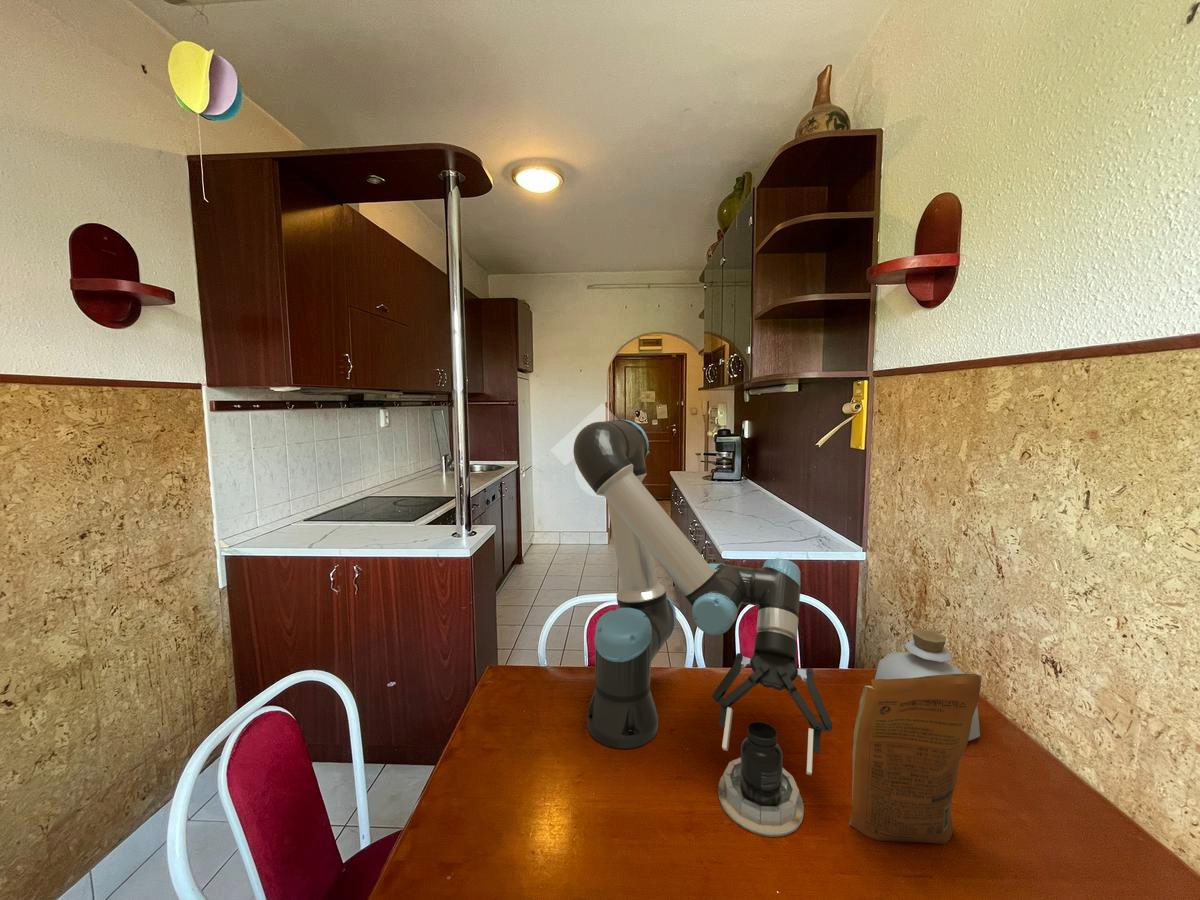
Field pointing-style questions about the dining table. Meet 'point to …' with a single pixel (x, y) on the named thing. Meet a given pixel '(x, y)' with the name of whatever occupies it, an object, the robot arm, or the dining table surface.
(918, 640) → the bottle
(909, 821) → the pancake mix bag
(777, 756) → the supplement bottle
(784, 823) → the silver bowl
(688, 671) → the dining table surface
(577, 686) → the dining table surface
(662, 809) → the dining table surface
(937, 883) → the dining table surface
